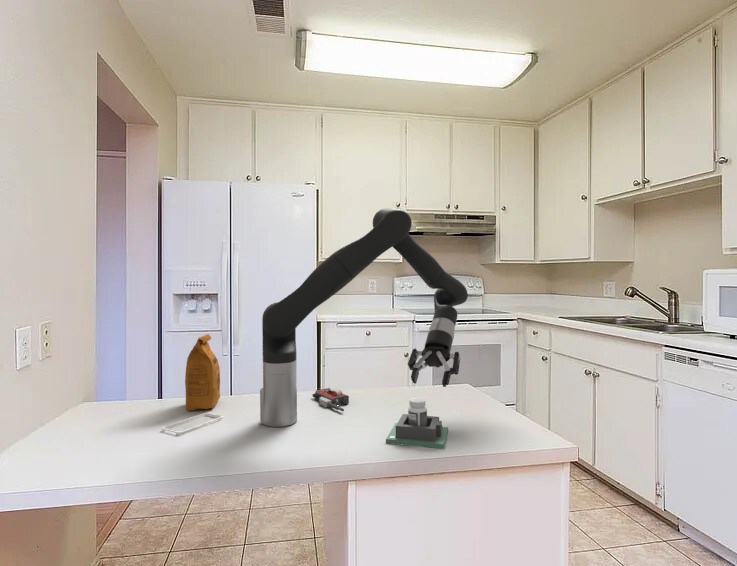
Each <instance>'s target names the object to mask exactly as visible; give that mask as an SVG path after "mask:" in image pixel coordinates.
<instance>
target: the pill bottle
mask: <svg viewBox="0 0 737 566" xmlns="http://www.w3.org/2000/svg"><path fill="white" fill-rule="evenodd" d="M408 405H409V406H408V408H407V409H408V411H407V412H408V425H415V426H427V416H428V409H427V407H426V406H427V405H426V400H425V399H424V398H420V397H412V398H410V399H409V404H408Z"/></svg>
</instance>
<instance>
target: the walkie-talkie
mask: <svg viewBox="0 0 737 566" xmlns="http://www.w3.org/2000/svg"><path fill="white" fill-rule="evenodd" d="M312 397H313V398H314V399H315V400H316V399H317V400H316V401H318V400H319V401H318V402H319V405H320V406H322V407H324V408H325V407H326V409H328V408H332V409H334V410H337V411H341V412H344V411H345V409H344V408H342V407H340V406H343V405H342V404H344V405H345V404H346V405H348V404H347V403H350V400H349V399H350V395H348V394H345V393H343V392H342V390H340V389H337V388H331V387H326V388H320V389H316V390H315V392H314V393H312ZM337 405H340V406H337ZM327 407H328V408H327Z"/></svg>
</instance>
